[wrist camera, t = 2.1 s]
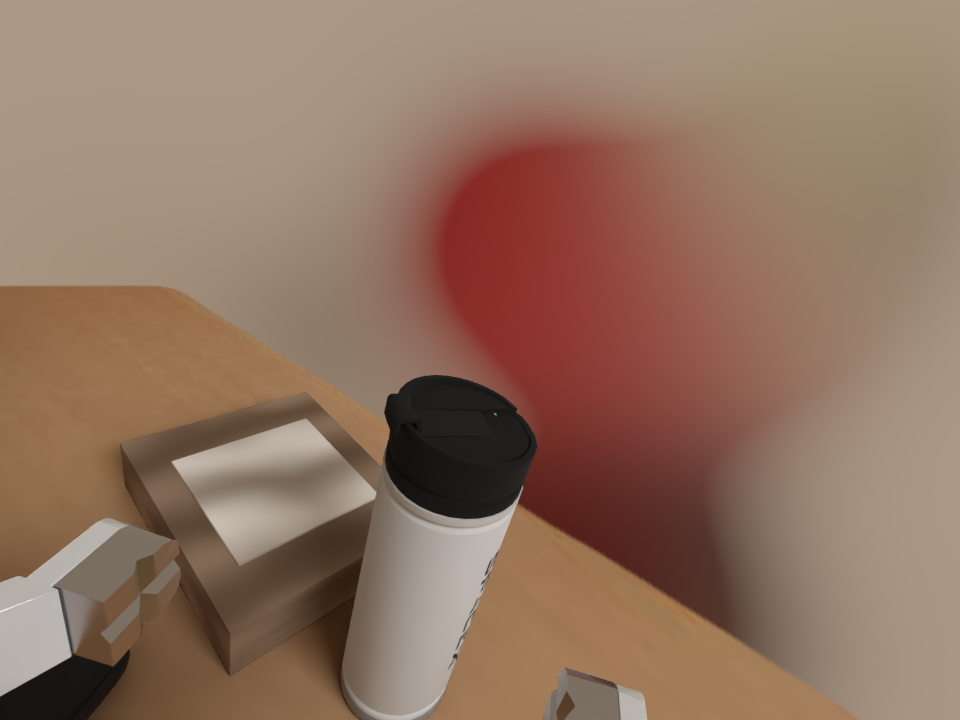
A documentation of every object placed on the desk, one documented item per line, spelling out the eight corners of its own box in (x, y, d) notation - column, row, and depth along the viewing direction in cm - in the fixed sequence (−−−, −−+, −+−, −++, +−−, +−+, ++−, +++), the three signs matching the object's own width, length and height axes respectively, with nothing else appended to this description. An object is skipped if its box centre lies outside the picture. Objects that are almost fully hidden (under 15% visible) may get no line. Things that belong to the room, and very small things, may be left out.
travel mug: (327, 636, 31) (373, 362, 22) (429, 615, 34) (509, 364, 24) (342, 750, 26) (409, 463, 17) (458, 715, 29) (573, 451, 20)
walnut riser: (125, 485, 37) (119, 441, 35) (302, 427, 47) (306, 389, 45) (229, 676, 28) (230, 631, 26) (420, 554, 38) (431, 514, 36)
